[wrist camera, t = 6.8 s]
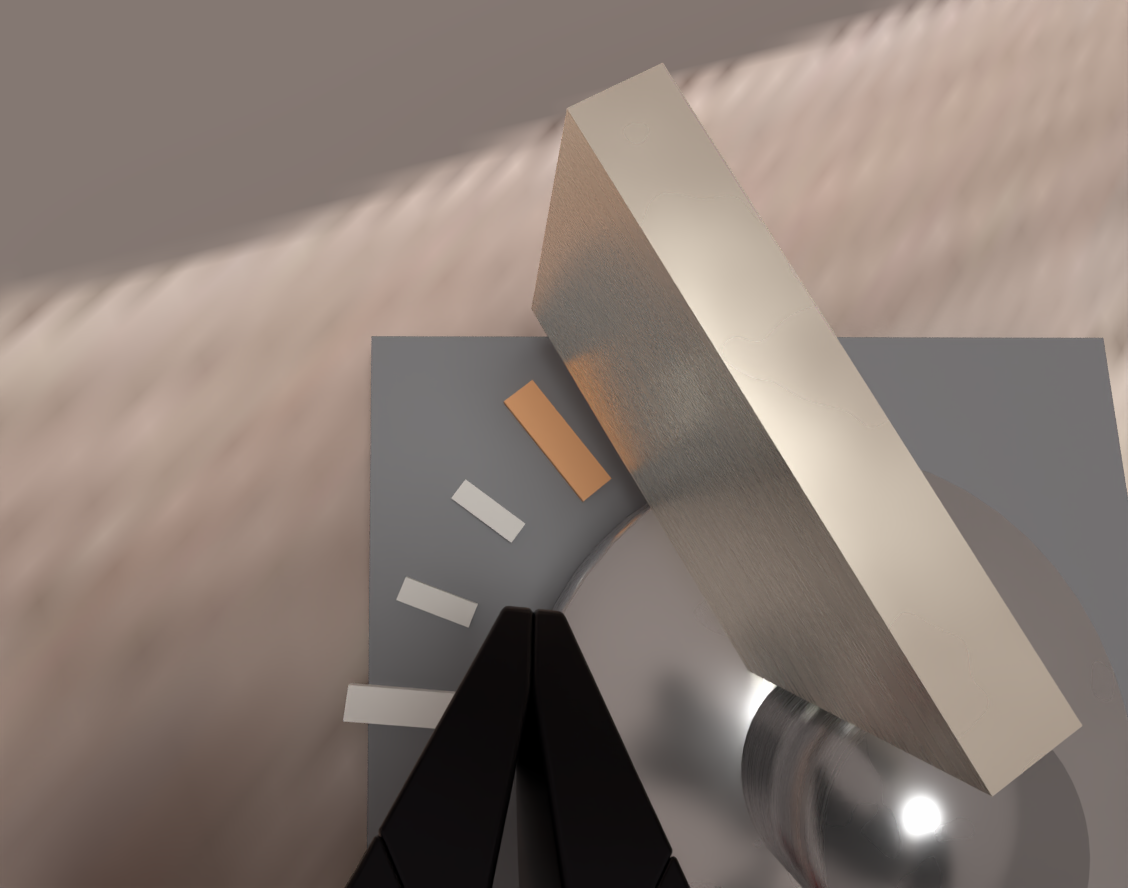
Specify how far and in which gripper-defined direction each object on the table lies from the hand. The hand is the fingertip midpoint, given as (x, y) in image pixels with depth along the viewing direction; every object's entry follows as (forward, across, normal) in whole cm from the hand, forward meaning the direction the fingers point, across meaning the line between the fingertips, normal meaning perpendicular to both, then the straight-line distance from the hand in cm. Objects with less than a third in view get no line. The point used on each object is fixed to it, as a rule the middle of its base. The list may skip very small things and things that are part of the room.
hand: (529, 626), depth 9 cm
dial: (+3, -5, +4) cm, 7 cm away
